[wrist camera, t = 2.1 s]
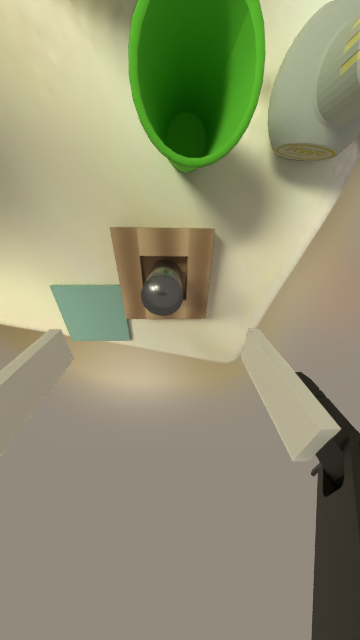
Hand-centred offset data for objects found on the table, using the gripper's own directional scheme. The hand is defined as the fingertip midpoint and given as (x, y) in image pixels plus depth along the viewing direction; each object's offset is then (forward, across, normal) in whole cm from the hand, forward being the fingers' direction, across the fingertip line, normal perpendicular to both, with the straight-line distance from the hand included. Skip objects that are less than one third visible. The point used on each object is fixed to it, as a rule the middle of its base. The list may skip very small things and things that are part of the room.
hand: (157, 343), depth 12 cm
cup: (+19, +3, +16) cm, 25 cm away
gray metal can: (+18, 0, 0) cm, 19 cm away
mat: (+19, -14, -8) cm, 25 cm away
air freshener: (+19, +17, +19) cm, 32 cm away
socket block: (+19, 0, 0) cm, 19 cm away
